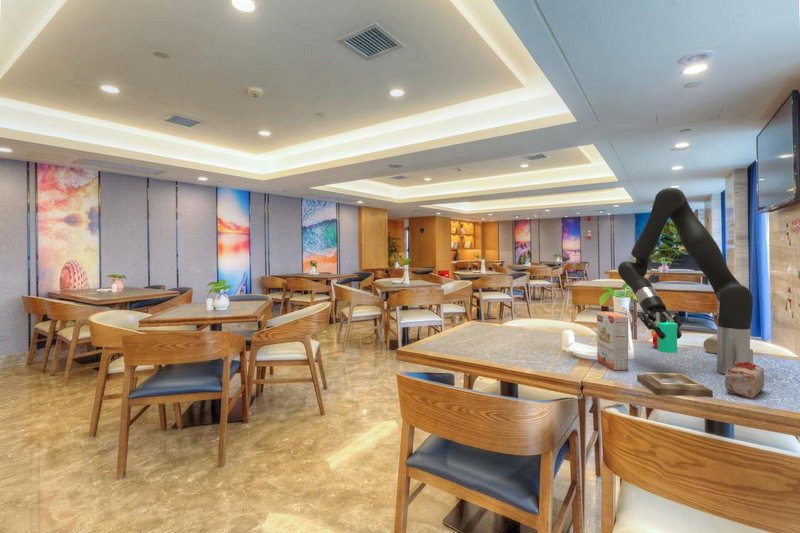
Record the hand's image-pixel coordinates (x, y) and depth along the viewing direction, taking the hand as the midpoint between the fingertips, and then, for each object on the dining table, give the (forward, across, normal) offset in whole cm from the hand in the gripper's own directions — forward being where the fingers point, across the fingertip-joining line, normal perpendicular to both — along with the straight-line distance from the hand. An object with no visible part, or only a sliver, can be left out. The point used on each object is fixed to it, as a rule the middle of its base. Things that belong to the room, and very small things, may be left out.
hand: (671, 337), depth 141 cm
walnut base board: (+19, -9, +1) cm, 21 cm away
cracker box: (0, -15, +19) cm, 24 cm away
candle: (+3, 0, +5) cm, 6 cm away
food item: (+23, +11, -2) cm, 25 cm away
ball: (-18, +24, +39) cm, 49 cm away
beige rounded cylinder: (-11, +43, +32) cm, 55 cm away
